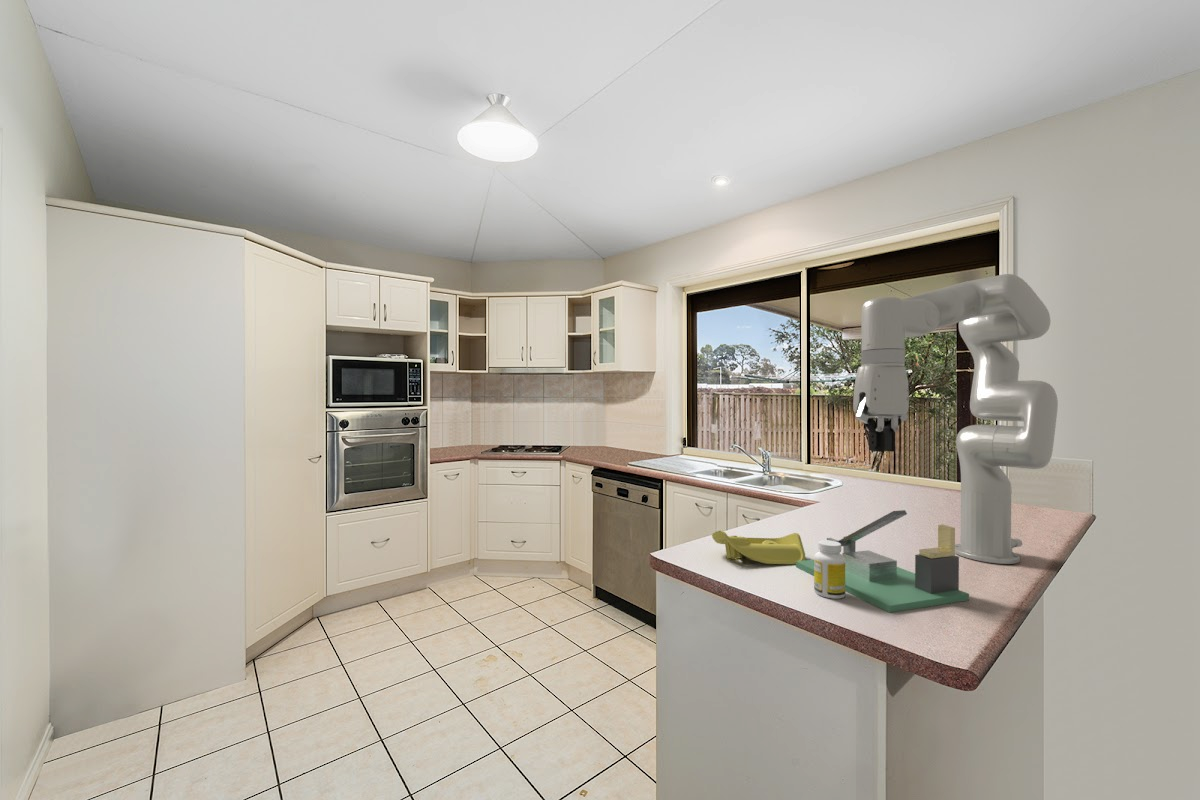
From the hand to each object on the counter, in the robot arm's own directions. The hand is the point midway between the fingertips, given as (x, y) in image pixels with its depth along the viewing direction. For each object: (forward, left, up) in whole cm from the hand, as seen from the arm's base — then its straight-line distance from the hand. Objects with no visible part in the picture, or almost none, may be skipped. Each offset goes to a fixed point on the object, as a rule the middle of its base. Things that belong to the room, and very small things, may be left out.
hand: (881, 450), depth 97 cm
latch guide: (-6, +7, -26) cm, 28 cm away
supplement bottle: (+14, +1, -27) cm, 31 cm away
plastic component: (+14, -22, -28) cm, 38 cm away
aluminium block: (0, -3, -26) cm, 26 cm away
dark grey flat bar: (0, -3, -17) cm, 18 cm away
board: (0, -1, -27) cm, 27 cm away
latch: (-6, +7, -20) cm, 22 cm away
